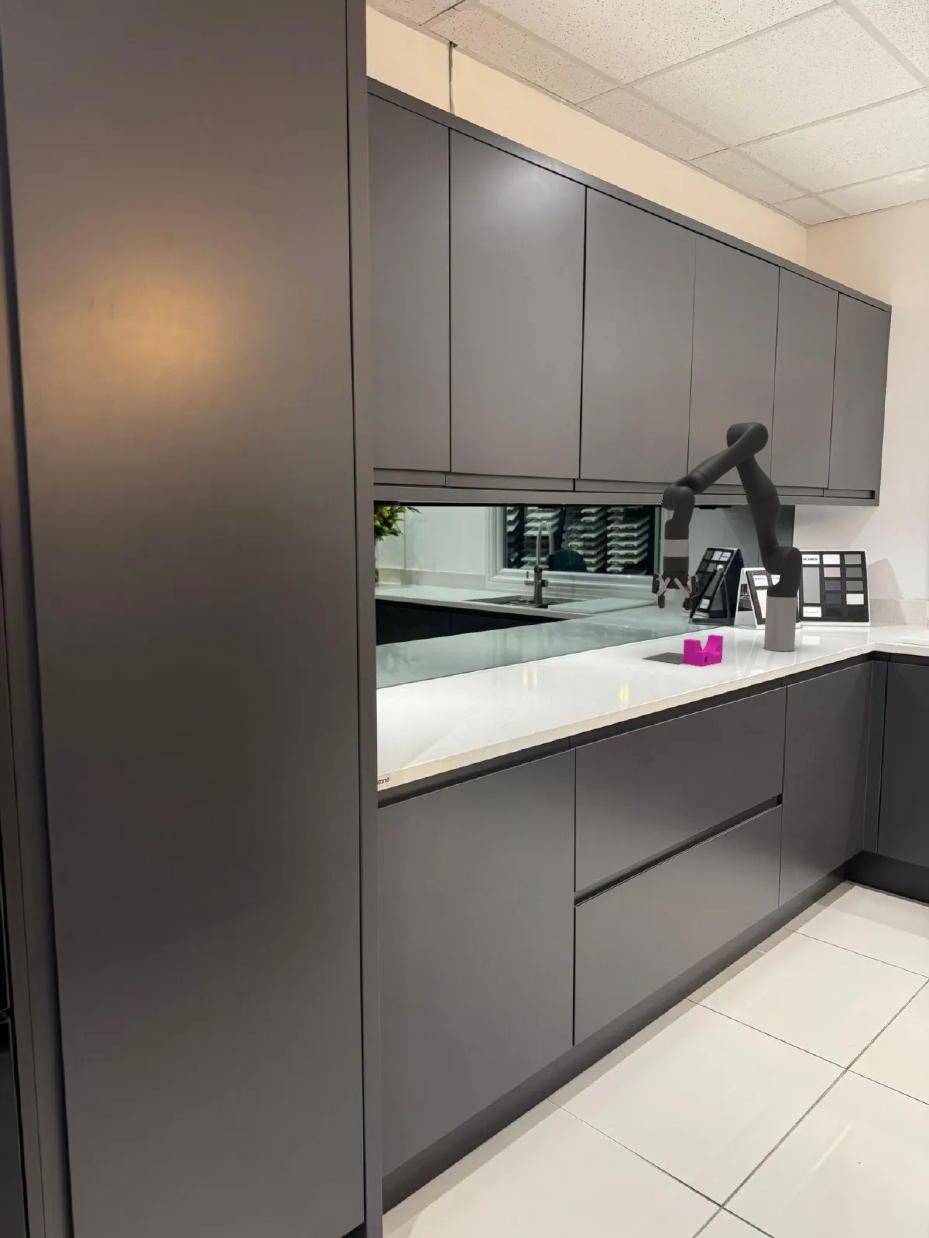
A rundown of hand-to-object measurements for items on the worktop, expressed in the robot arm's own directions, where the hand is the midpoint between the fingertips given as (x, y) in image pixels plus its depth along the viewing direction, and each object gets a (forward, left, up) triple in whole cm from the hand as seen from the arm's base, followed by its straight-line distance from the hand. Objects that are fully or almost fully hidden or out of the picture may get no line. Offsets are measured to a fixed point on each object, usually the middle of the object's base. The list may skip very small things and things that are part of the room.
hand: (674, 609), depth 258 cm
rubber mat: (0, 0, -15) cm, 15 cm away
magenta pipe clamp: (-2, +10, -16) cm, 19 cm away
